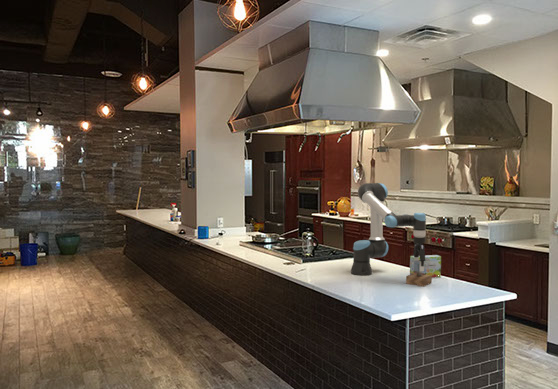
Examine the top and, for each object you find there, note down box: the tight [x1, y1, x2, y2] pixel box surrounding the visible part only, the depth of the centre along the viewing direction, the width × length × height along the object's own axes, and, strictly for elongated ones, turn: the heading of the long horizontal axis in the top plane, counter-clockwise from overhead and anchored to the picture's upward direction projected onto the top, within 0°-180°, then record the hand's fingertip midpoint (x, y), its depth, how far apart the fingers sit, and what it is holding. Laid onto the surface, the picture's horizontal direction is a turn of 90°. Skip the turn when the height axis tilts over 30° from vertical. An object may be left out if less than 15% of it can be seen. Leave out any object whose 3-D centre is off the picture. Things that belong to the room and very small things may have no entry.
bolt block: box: [405, 271, 433, 287], centre depth 316 cm, size 12×12×13 cm
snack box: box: [409, 254, 442, 279], centre depth 336 cm, size 21×6×15 cm, turn 105°
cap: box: [413, 260, 425, 272], centre depth 316 cm, size 7×7×6 cm
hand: (419, 269), depth 316 cm, fingers open, 13 cm apart
